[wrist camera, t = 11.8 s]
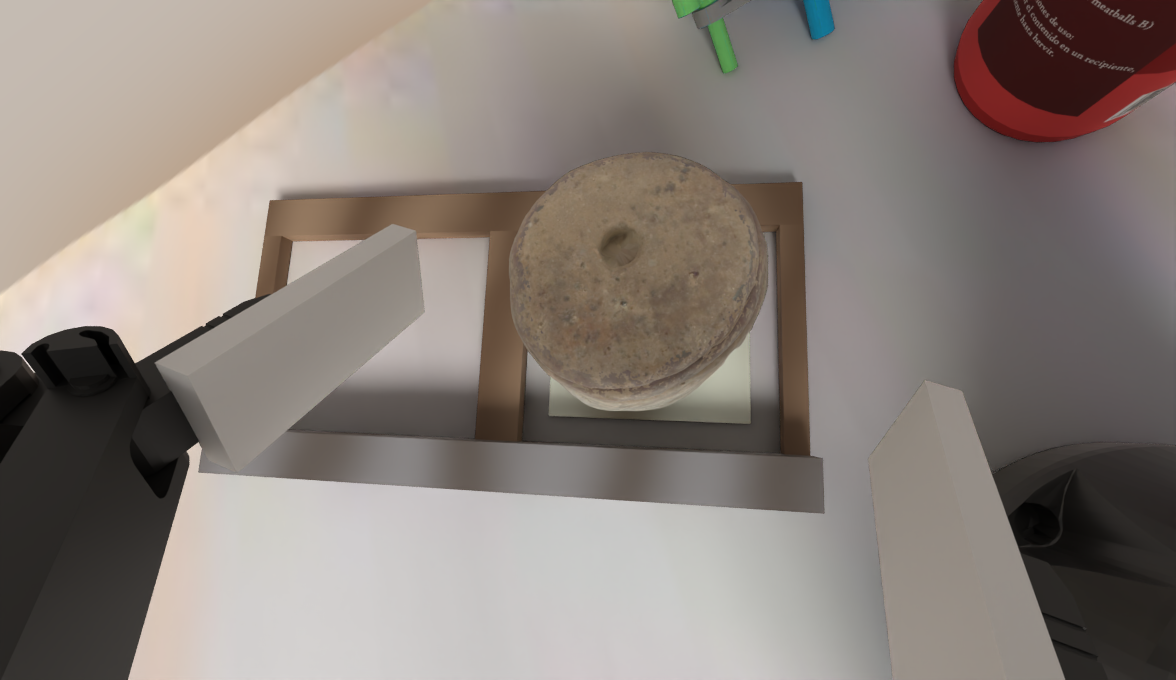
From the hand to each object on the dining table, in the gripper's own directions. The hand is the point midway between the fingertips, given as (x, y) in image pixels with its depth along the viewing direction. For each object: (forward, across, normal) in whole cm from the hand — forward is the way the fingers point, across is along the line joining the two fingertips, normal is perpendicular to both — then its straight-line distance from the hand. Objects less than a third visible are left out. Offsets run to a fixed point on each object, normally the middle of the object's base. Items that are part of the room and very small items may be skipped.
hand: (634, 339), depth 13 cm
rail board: (+7, +7, +7) cm, 12 cm away
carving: (+8, 0, +6) cm, 10 cm away
